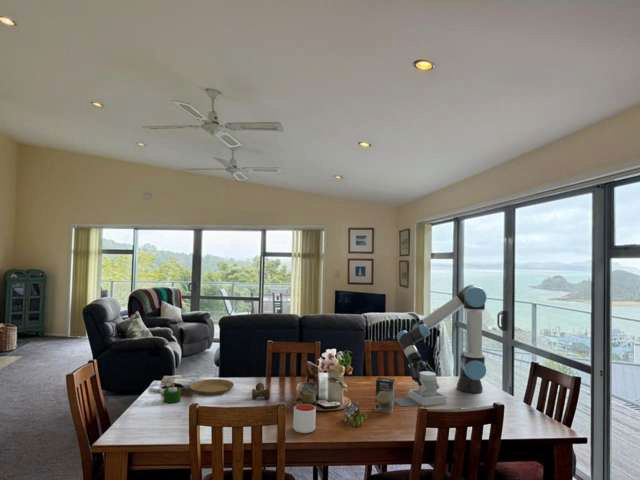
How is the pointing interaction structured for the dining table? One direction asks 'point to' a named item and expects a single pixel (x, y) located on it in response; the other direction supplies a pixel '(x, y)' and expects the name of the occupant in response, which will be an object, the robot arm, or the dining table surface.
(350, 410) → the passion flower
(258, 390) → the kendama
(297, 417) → the cup
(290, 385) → the dining table surface
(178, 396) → the candle
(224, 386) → the plant saucer
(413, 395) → the open box
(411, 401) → the slate mat
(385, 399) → the coffee box
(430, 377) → the supplement tub
